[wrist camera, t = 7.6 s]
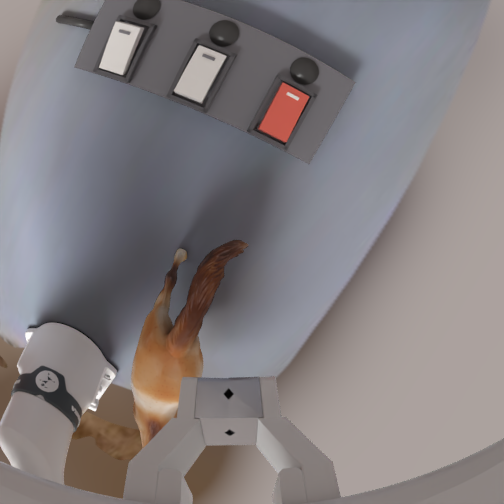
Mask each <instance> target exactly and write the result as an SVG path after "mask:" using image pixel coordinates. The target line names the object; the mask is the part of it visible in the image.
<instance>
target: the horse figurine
mask: <svg viewBox="0 0 504 504" xmlns="http://www.w3.org/2000/svg"><path fill="white" fill-rule="evenodd" d="M246 247H248V244H247V243H245V242H242V241H241V240H233V241H230V242H227V243H226V244H223V245H221V246H220V247H218V248H216V249H214V250H212V251H211V252H210V253H209V254H208V255H207V256H206V257H205V258H204V260H203V261H202V262H201V263H200V265H199V266H198V269H197V272H196V274H195V275H194V277H193V280H192V283H191V286H190V289H189V293H188V297H187V303H186V306H185V307H184V308H183V309H182V310H181V312H180V314H179V315H178V316H177V318H176V321H175V325H174V327H173V324H172V322H171V319H170V317H169V315H168V311H169V307H170V296H171V292H172V289H173V287H174V286H175V284H176V280H177V269H178V266H179V265H180V263H181V262H182V261H185V260H186V259H187V252H186V251H185V250H183V249H181V248H179V249H178V250H177V251H176V254H175V256H174V263H173V266H172V268H171V270H170V271H169V272H168V273H167V274H166V277H165V285H164V288H163V290H162V291H161V292H160V294H159V296H158V298H157V299H156V302H155V304H154V308H153V310H152V311H151V312H150V313H149V314H148V316H147V317H146V319H145V322H144V325H143V329H142V332H141V335H140V338H139V342H138V346H137V350H136V353H135V357H134V361H133V367H132V374H131V388H132V391H133V394H134V400H135V401H134V405H133V413H134V417H135V420H136V422H137V425H138V427H139V429H140V434H141V439H142V446H143V448H144V447H145V446H146V445H147V444H148V443H149V442H150V441H151V440H152V439H153V438H154V437H155V436H156V434H157V433H158V432H159V431H160V430H161V429H162V428H163V427H164V426H165V425H166V424H167V423H168V422H169V421H170V420H171V419H172V418H177V412H178V403H179V395H180V387H181V380H182V378H183V377H201V376H202V372H203V357H202V352H201V349H200V342H199V337H198V333H199V330H200V328H201V326H202V322H203V317H204V315H205V314H206V313H207V311H208V309H209V307H210V305H211V303H212V300H213V298H214V295H215V292H216V290H217V288H218V286H219V285H220V281H221V280H222V278H223V277H224V266H225V265H226V263H227V262H228V261H229V260H230V259H232V258H233V257H237V256H238V254H240V253H243V252H244V251H243V249H245V248H246Z"/></svg>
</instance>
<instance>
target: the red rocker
mask: <svg viewBox="0 0 504 504" xmlns="http://www.w3.org/2000/svg"><path fill="white" fill-rule="evenodd" d="M308 98H309V96H307V95H306V94H304V93H302V92H300V91H298V90H296V89H295V88H293V87H291V86H289V85H287V84H285V83H282V84H281V85H280V86H279V88H278V90H277V92H276V94H275V96H274V98H273V100H272V102H271V104H270V106H269V108H268V110H267V112H266V113H265V115H264V117H263V119H262V121H261V123H260V125H259V127H258V129H259V130H261V131H263V132H265V133H267V134H269V135H271V136H273V137H275V138H277V139H279V140H281V141H283V142H287V140H288V138H289V136H290V134H291V132H292V130H293V128H294V126H295V124H296V122H297V120H298V118H299V116H300V114H301V112H302V110H303V108H304V106H305V104H306V102H307V100H308Z"/></svg>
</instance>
